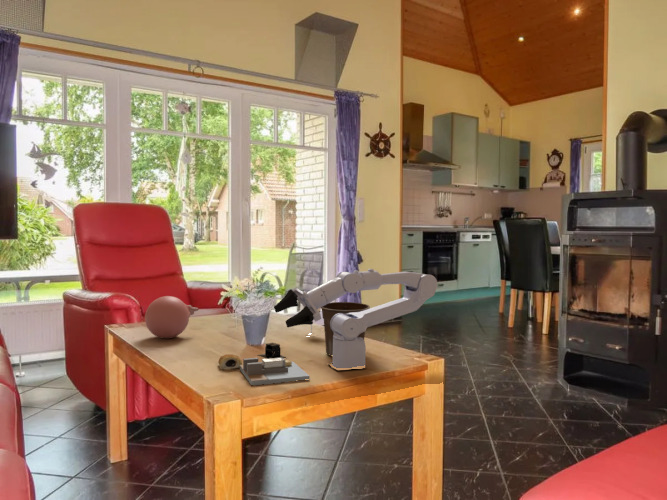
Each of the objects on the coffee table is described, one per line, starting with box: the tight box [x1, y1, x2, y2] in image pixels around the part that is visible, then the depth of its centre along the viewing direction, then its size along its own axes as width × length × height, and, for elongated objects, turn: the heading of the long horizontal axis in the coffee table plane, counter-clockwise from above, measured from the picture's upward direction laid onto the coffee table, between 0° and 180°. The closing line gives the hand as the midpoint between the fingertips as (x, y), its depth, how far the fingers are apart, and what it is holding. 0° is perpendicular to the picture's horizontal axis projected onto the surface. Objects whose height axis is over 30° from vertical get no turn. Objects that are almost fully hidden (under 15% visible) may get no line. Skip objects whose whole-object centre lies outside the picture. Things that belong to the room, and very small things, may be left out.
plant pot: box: [320, 301, 371, 355], centre depth 173 cm, size 16×16×16 cm
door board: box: [239, 357, 310, 386], centre depth 148 cm, size 16×16×4 cm
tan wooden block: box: [261, 358, 286, 369], centre depth 148 cm, size 6×3×3 cm, turn 111°
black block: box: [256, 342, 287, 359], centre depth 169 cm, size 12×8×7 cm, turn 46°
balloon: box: [144, 295, 199, 339], centre depth 194 cm, size 15×20×15 cm
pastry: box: [218, 353, 243, 371], centre depth 158 cm, size 9×7×4 cm
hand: (280, 316), depth 149 cm, fingers open, 7 cm apart
